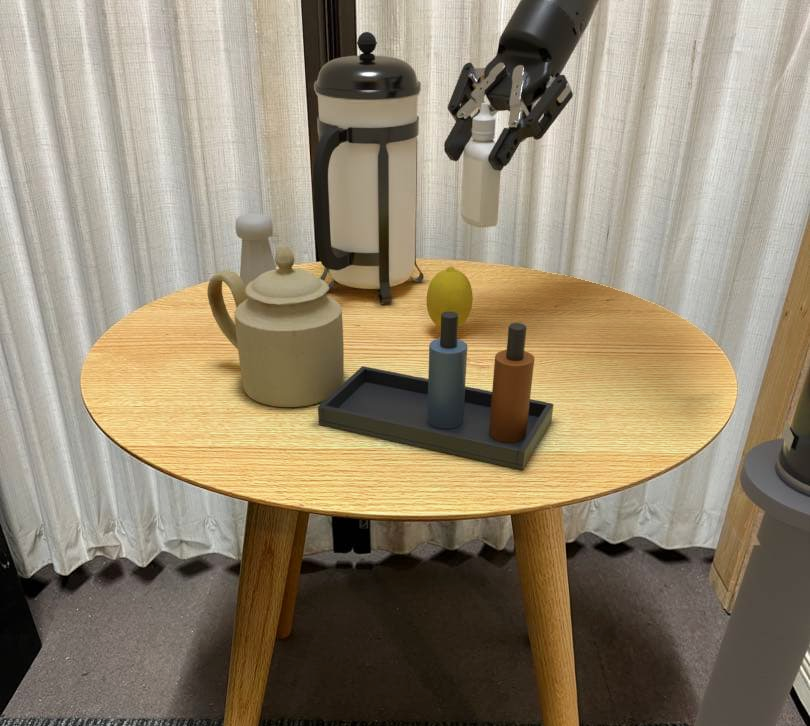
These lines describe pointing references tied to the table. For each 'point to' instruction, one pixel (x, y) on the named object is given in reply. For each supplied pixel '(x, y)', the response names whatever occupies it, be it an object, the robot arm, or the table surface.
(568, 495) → the table surface
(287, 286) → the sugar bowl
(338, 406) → the tray
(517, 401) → the amber bottle
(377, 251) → the coffee press
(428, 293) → the lemon
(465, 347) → the slate-blue bottle
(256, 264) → the salt shaker
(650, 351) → the table surface
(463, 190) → the eye dropper bottle
